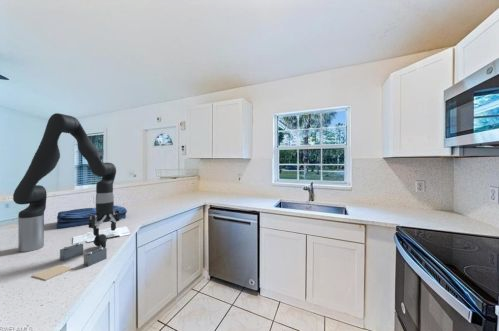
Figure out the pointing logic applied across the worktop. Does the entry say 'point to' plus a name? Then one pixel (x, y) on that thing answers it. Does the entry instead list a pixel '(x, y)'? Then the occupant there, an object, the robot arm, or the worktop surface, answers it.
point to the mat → (52, 272)
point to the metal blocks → (88, 258)
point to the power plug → (100, 240)
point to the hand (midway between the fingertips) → (105, 232)
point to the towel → (81, 216)
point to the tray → (108, 232)
